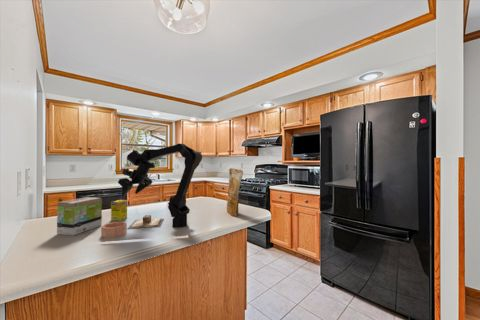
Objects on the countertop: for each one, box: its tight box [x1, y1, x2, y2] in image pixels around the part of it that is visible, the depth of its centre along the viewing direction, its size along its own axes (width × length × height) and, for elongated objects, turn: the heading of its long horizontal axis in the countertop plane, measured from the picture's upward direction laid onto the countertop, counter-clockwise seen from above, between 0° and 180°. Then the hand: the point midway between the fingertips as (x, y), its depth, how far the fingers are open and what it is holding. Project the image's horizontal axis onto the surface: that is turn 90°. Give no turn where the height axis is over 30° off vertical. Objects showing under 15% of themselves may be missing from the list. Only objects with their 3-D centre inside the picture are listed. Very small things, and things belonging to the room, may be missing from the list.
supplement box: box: [110, 199, 128, 221], centre depth 119 cm, size 6×6×11 cm
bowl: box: [100, 221, 128, 239], centre depth 95 cm, size 9×9×5 cm
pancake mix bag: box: [226, 168, 244, 217], centre depth 135 cm, size 7×19×28 cm, turn 20°
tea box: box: [56, 196, 103, 236], centre depth 104 cm, size 15×10×15 cm, turn 168°
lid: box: [131, 214, 162, 229], centre depth 110 cm, size 12×12×4 cm
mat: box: [127, 218, 165, 230], centre depth 110 cm, size 15×15×1 cm
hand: (129, 194), depth 116 cm, fingers open, 9 cm apart
